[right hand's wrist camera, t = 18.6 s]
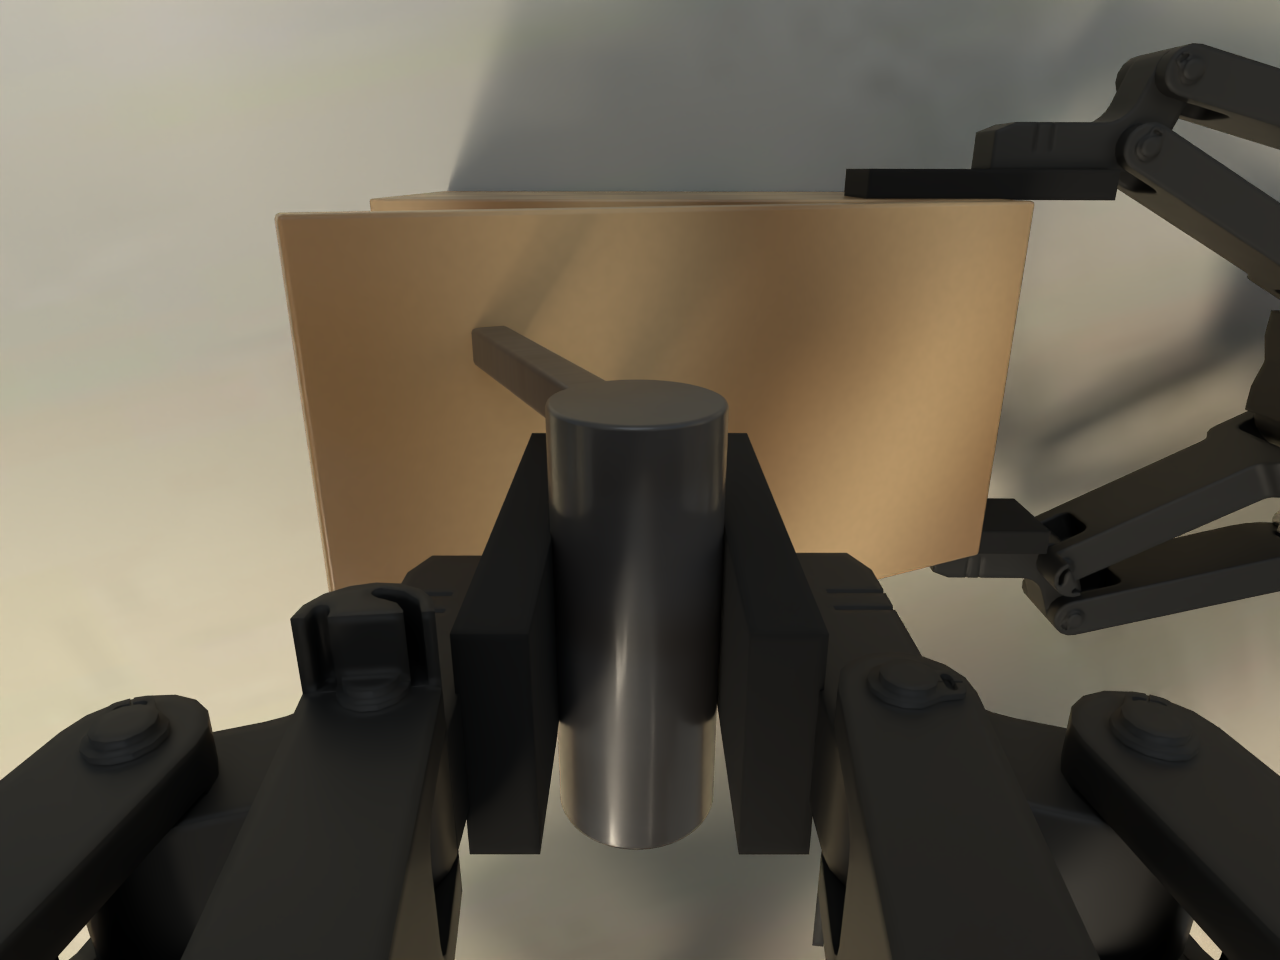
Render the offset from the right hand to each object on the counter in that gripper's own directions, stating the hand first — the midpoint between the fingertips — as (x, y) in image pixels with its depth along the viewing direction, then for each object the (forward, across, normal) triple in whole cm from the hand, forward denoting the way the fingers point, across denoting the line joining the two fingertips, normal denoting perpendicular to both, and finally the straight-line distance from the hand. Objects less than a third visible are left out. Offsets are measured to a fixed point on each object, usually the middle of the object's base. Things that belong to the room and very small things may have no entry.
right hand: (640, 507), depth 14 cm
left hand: (+11, -6, 0) cm, 13 cm away
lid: (+5, -2, 0) cm, 5 cm away
